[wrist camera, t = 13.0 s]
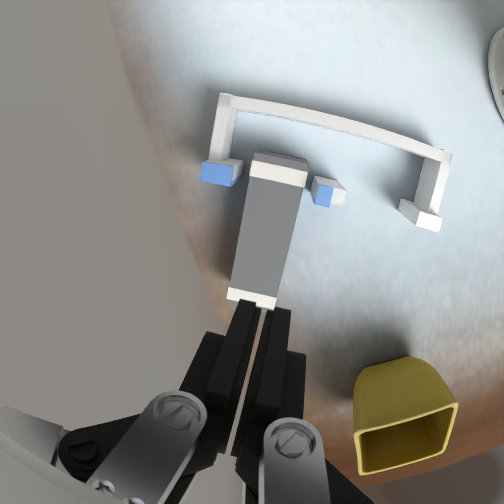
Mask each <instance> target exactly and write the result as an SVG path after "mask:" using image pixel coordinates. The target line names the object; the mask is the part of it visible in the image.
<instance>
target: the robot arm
mask: <svg viewBox="0 0 504 504" xmlns="http://www.w3.org/2000/svg"><path fill="white" fill-rule="evenodd" d="M488 69H489V78H490V83H491V88H492V92H493V95H494V98H495V101H496V104H497V107H498V109H499V111H500V114H501V116H502V118H503V120H504V27H503V28H500V29H499V30H498V31H497V32H496V33H495V34H494V36H493V38H492V40H491V43H490V47H489V51H488ZM261 310H262V308H259V307H256V302H253V301H248V300H244V299H240V300H239V302H238V305H237V307H236V310H235V313H234V315H233V318H232V321H231V323H230V326H229V329H228V331H227V334H226V336H224V335H219V334H216V333H212V332H208V331H207V332H206V333H205V335H204V337H203V339H202V342H201V344H200V346H199V348H198V350H197V352H196V354H195V356H194V358H193V361H192V363H191V365H190V367H189V369H188V371H187V374H186V376H185V378H184V380H183V382H182V384H181V386H180V389H179V391H175V390H172V391H166V392H163V393H161V394H159V395H157V396H156V397H155V398H153V400H151V402H150V403H149V404H148V405H147V407H146V408H145V409H144V411H143V412H142V413H141V414H137V415H134V416H130V417H127V418H122V419H119V420H115V421H111V422H107V423H103V424H98V425H94V426H89V427H85V428H80V429H76V430H73V431H69V430H66V429H64V428H63V426H61V425H58V424H55V423H52V422H48V421H46V420H43V419H40V418H37V417H34V416H32V415H29V414H26V413H23V412H21V411H18V410H16V409H13V408H10V407H0V504H182V503H183V501H184V500H185V498H186V496H187V494H188V492H189V491H190V489H191V487H192V485H193V484H194V482H195V480H196V478H197V476H198V474H199V472H200V471H201V470H203V469H206V468H208V467H210V466H213V463H214V461H215V460H216V457H217V453H222V454H225V451H226V447H227V443H228V440H229V436H230V433H231V429H232V425H233V422H234V418H235V414H236V410H237V407H238V403H239V399H240V395H241V391H242V387H243V383H244V380H245V376H246V372H247V368H248V364H249V360H250V356H251V352H252V348H253V343H254V339H255V335H256V331H257V327H258V323H259V318H260V314H261ZM290 318H291V310H288V309H283V308H279V307H274V310H273V311H272V310H267V312H266V316H265V320H264V324H263V328H262V332H261V336H260V340H259V344H258V348H257V352H256V356H255V359H254V363H253V367H252V371H251V375H250V379H249V383H248V388H247V392H246V396H245V400H244V404H243V408H242V412H241V416H240V420H239V424H238V428H237V432H236V436H235V439H234V443H233V447H232V451H231V456H235V457H237V460H236V464H235V466H236V469H235V471H236V473H237V474H238V475H239V476H240V477H241V479H242V480H243V481H244V482H243V496H242V504H374V503H373V502H372V500H371V499H369V498H368V497H367V496H366V495H365V494H363V493H362V492H361V491H360V490H359V489H358V488H357V487H356V486H355V485H354V484H352V483H351V482H350V481H349V480H348V479H347V478H346V477H345V476H344V475H343V474H341V473H340V472H339V471H338V470H337V469H336V468H335V467H334V466H333V465H332V464H331V463H330V462H329V461H328V460H327V459H326V458H325V457H324V451H323V444H322V440H321V437H320V434H319V432H318V431H317V430H316V428H315V427H313V426H312V425H311V424H310V423H308V422H306V421H304V420H303V409H304V391H305V371H306V355H305V354H302V353H297V352H293V351H288V350H287V346H288V337H289V327H290Z"/></svg>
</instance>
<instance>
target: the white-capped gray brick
mask: <svg viewBox="0 0 504 504" xmlns="http://www.w3.org/2000/svg"><path fill="white" fill-rule="evenodd" d="M308 166H309V164H308V162H307V160H305V159H300V158H296V157H292V156H287V155H282V154H278V153H273V152H268V151H263V150H259V151H257V152H255V153H254V158H253V160H252V164H251V169H250V174H249V176H250V179H249V184H248V189H247V195H246V200H245V205H244V211H243V216H242V221H241V227H240V232H239V237H238V243H237V248H236V254H235V259H234V265H233V270H232V276H231V281H230V285H229V288H228V294H227V305H232V306H236V307H237V305H238V302H239V300H240V299H244V300H248V301H253V302H256V307H259V308H262V310H261V312H262V313H266V312H267V310H272V311H273V309H274V307H275V303H276V299H277V292H278V289H279V285H280V281H281V277H282V273H283V269H284V265H285V261H286V257H287V254H288V250H289V246H290V242H291V237H292V233H293V229H294V225H295V221H296V217H297V213H298V209H299V204H300V200H301V196H302V192H303V188H304V187H305V183H306V178H307V174H308V171H307V170H308Z"/></svg>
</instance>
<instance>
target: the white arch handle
mask: <svg viewBox="0 0 504 504" xmlns="http://www.w3.org/2000/svg"><path fill="white" fill-rule="evenodd" d="M238 111H242V112H249V113H255V114H261V115H266V116H272V117H277V118H282V119H287V120H292V121H297V122H302V123H306V124H311V125H315V126H319V127H324V128H328V129H332V130H336V131H339V132H343V133H347V134H351V135H354V136H358V137H362V138H365V139H368V140H372V141H375V142H379V143H382V144H385V145H388V146H391V147H394V148H397V149H401V150H404V151H406V152H409V153H412V154H415V155H418V156H421V157H424V161H423V166H422V170H421V174H420V178H419V182H418V185H417V189H416V193H415V196H414V200H413V202H412V201H409V200H405V199H402V198H401V200H400V203H399V207H398V210H397V211H399V212H400V213H401V214H402V215H404V216H405V217H406V218H407V219H408V220H410V221H411V222H412V223H413V224H414V225H416V226H419V227H422V228H426V229H429V230H432V231H436V232H439V229H440V226H441V223H442V220H443V218H441V217H440V216H438V215H437V213H438V210H439V206H440V203H441V199H442V196H443V192H444V188H445V185H446V181H447V177H448V173H449V169H450V165H451V160H452V156H453V153H451V152H449V151H446V150H443V149H437V148H435V147H432V146H430V145H427V144H424V143H422V142H419V141H416V140H414V139H411V138H408V137H405V136H402V135H399V134H396V133H393V132H390V131H387V130H384V129H381V128H378V127H374V126H371V125H368V124H364V123H361V122H357V121H354V120H350V119H346V118H343V117H339V116H335V115H331V114H327V113H323V112H318V111H314V110H310V109H305V108H301V107H296V106H291V105H286V104H281V103H275V102H270V101H264V100H258V99H252V98H245V97H238V96H234V95H233V94H227V93H220V95H219V100H218V106H217V111H216V117H215V122H214V128H213V134H212V140H211V146H210V153H209V159H208V160H206V161H203V162H202V168H201V175H200V181H202V182H207V183H213V184H218V185H224V186H229V187H231V186H232V185H233V184H234V183H235V182H237V181H238V180H239V179H240V178H241V174H242V168H243V163H244V161H243V160H238V159H232V158H229V157H230V151H231V145H232V139H233V134H234V128H235V123H236V117H237V112H238ZM310 193H311V196H312V200H313V203H314V204H315V205H320V206H324V207H329V206H330V203H332V204H336V205H340V206H343V205H344V201H345V197H346V193H347V190H346V189H345V188H344V187H343V186H342V185H341V184H340V183H339V182H338V181H336V180H332V179H328V178H324V177H320V176H315V175H314V178H313V182H312V187H311V191H310Z"/></svg>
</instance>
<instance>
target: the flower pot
mask: <svg viewBox="0 0 504 504" xmlns="http://www.w3.org/2000/svg"><path fill="white" fill-rule="evenodd" d="M457 408H458V402H457V400H456V399H455V397H454V396H453V394H452V392H451V391H450V389H449V388H448V386H447V385H446V383H445V382H444V381H443V379H442V378H441V376H440V375H439V373H438V372H437V371H436V370H435V369H434V368H433V367H432V366H431V365H430V364H428V363H427V362H425V361H423V360H421V359H418V358H415V357H411V356H407V357H403V358H399V359H396V360H392V361H389V362H385V363H381V364H377V365H373V366H369V367H366V368H364V369H363V370H362V372H361V373H360V374H359V376H358V378H357V380H356V382H355V386H354V391H353V436H354V441H355V446H356V451H357V460H358V473H359V474H360V475H367V474H372V473H376V472H380V471H384V470H388V469H392V468H396V467H400V466H403V465H407V464H410V463H414V462H417V461H420V460H424V459H427V458H430V457H433V456H436V455H438V454H441V453H443V452H444V450H445V448H446V446H447V443H448V440H449V436H450V433H451V430H452V426H453V423H454V419H455V416H456V413H457Z"/></svg>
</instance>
